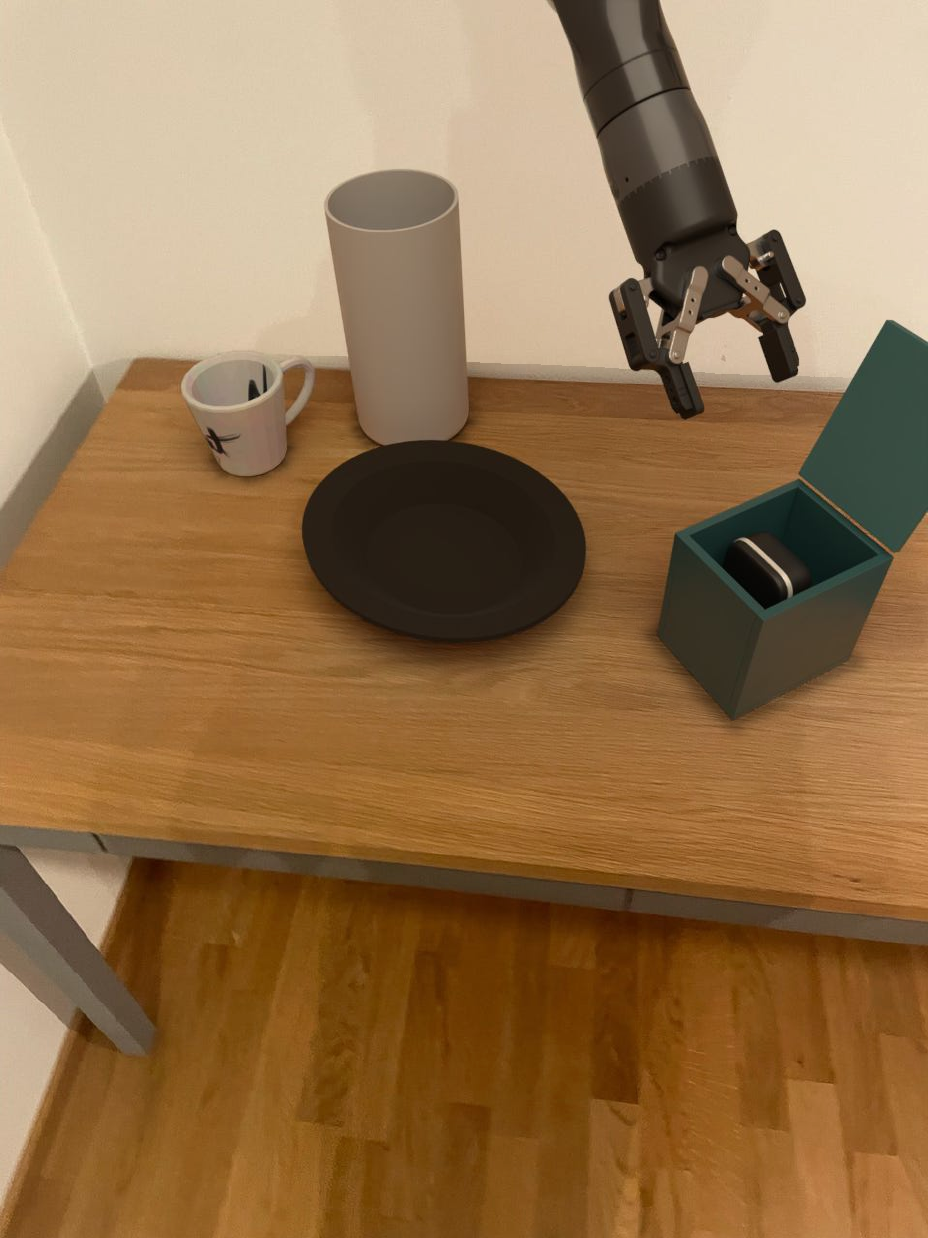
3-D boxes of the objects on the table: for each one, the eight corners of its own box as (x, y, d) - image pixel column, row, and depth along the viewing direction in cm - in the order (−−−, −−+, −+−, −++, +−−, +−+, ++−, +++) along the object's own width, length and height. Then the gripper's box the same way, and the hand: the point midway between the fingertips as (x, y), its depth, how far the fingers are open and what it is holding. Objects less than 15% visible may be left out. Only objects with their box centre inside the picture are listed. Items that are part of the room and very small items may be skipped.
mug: (187, 455, 102) (160, 378, 95) (296, 396, 108) (280, 320, 101) (238, 500, 97) (215, 423, 89) (351, 436, 103) (337, 359, 96)
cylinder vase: (358, 390, 109) (324, 174, 90) (463, 380, 109) (452, 163, 90) (360, 458, 101) (323, 237, 82) (474, 447, 101) (464, 225, 82)
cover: (1004, 393, 61) (1010, 393, 62) (886, 319, 68) (892, 319, 68) (893, 553, 70) (899, 552, 70) (797, 473, 76) (803, 473, 76)
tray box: (732, 720, 77) (763, 620, 67) (656, 635, 83) (674, 532, 73) (848, 660, 80) (894, 556, 70) (767, 582, 86) (799, 477, 77)
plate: (258, 566, 91) (245, 525, 86) (433, 449, 101) (429, 407, 97) (460, 730, 77) (456, 690, 73) (638, 575, 88) (644, 533, 83)
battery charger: (792, 662, 79) (825, 570, 70) (757, 680, 78) (786, 589, 69) (739, 609, 83) (765, 516, 75) (705, 625, 82) (727, 533, 73)
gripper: (605, 182, 60) (690, 419, 62) (777, 129, 64) (851, 353, 66) (559, 228, 67) (636, 439, 69) (716, 178, 71) (785, 379, 73)
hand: (741, 397), depth 68 cm, fingers open, 8 cm apart
